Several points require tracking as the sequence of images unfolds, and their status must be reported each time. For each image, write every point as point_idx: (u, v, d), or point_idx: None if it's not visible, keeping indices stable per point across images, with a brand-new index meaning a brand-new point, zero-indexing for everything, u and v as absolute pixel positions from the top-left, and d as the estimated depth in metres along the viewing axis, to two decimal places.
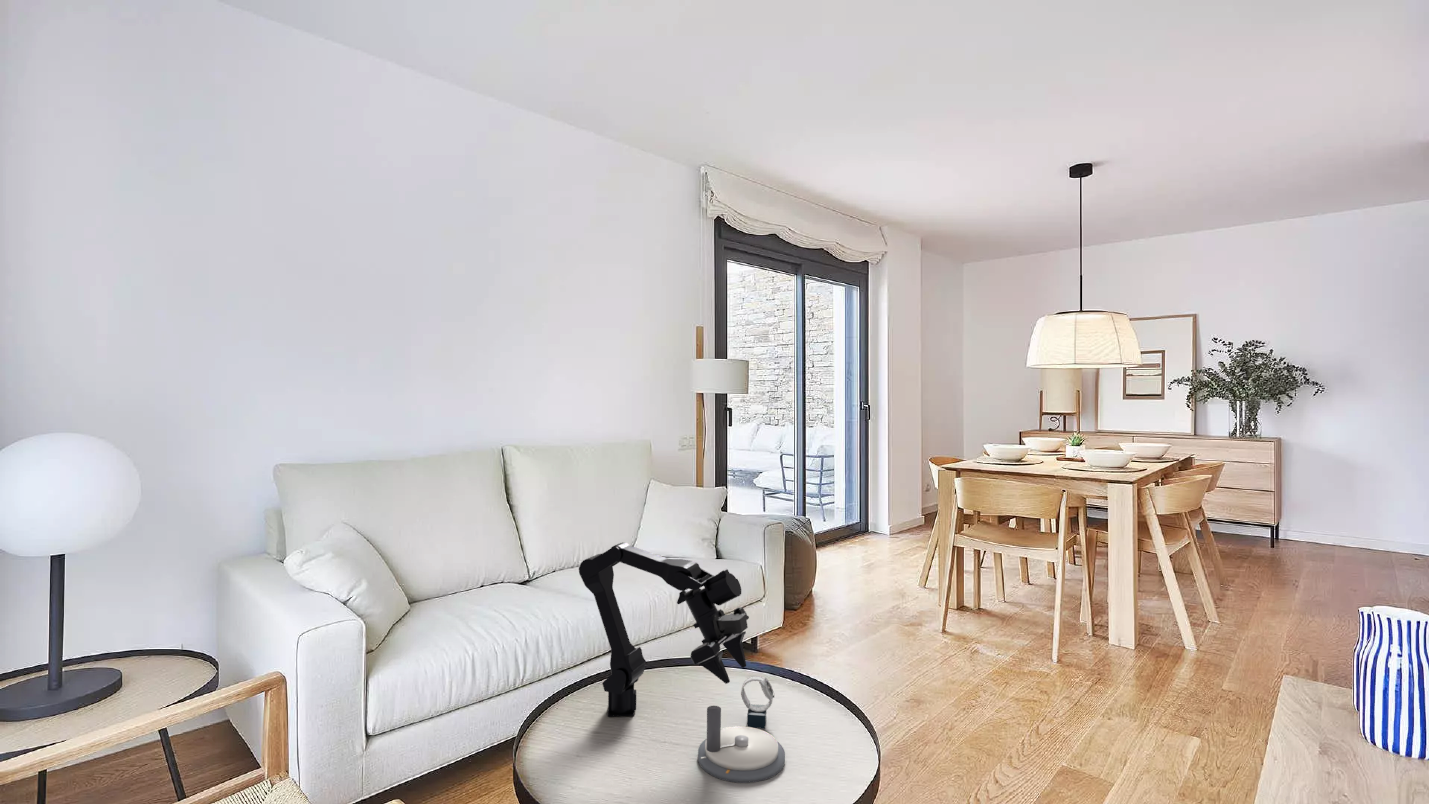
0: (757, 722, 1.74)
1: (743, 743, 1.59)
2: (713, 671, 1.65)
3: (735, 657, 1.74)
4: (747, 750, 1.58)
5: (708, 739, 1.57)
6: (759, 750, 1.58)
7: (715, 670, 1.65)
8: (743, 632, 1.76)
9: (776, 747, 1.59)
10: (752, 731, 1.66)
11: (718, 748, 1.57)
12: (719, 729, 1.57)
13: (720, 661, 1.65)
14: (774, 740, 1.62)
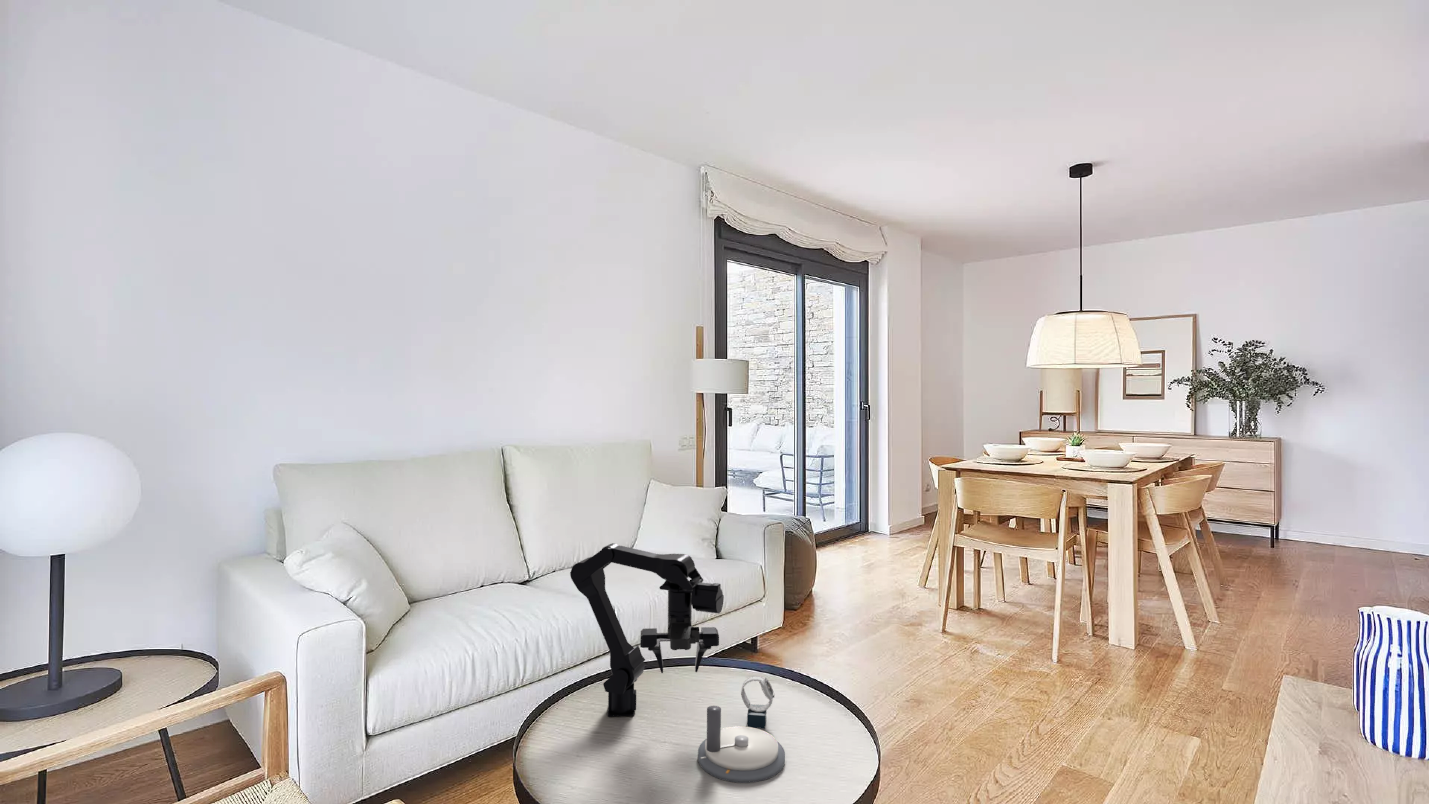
0: (757, 722, 1.74)
1: (743, 743, 1.59)
2: None
3: None
4: (747, 750, 1.58)
5: (708, 739, 1.57)
6: (759, 750, 1.58)
7: None
8: (707, 647, 1.75)
9: (776, 747, 1.59)
10: (752, 731, 1.66)
11: (718, 748, 1.57)
12: (719, 729, 1.57)
13: (657, 654, 1.75)
14: (774, 740, 1.62)
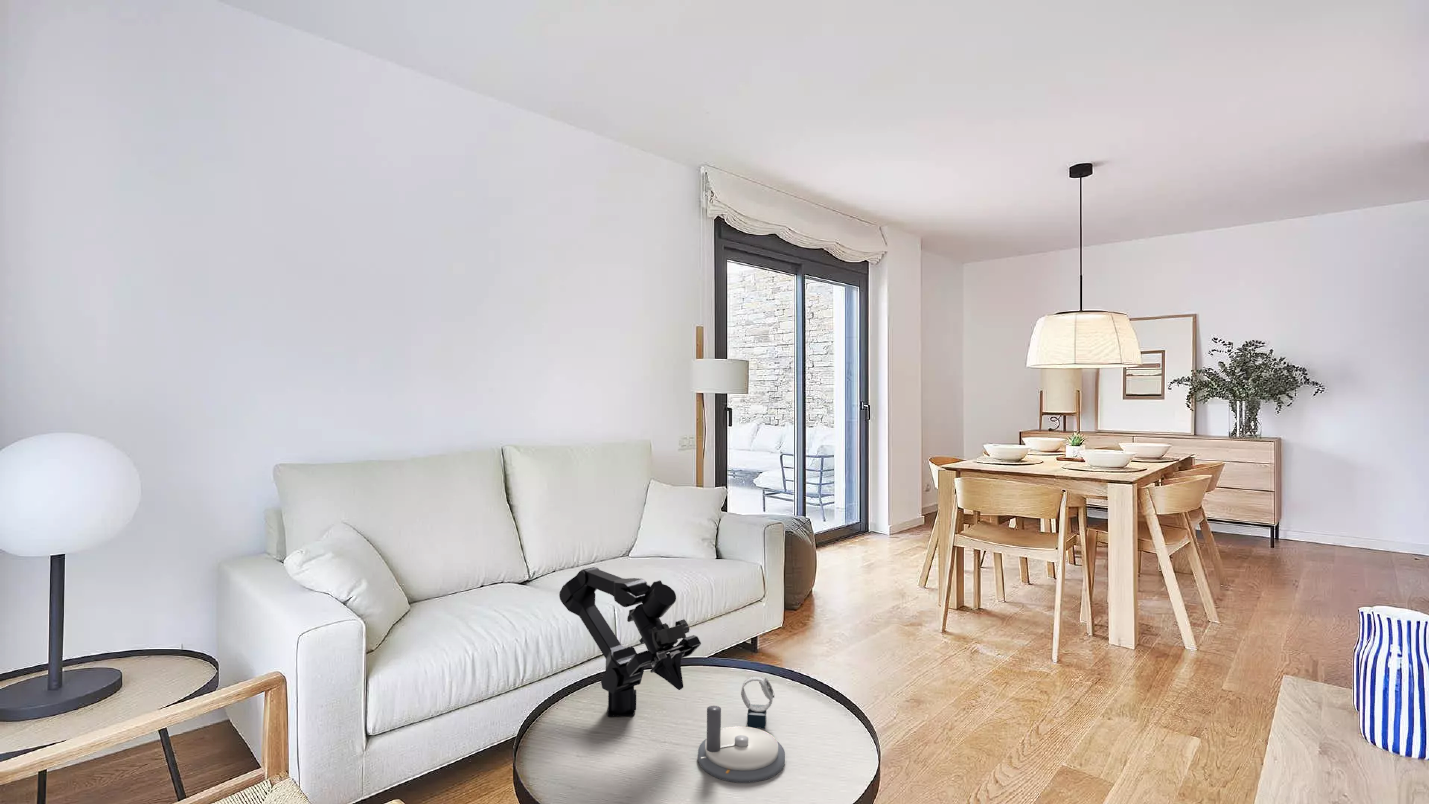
0: (757, 722, 1.74)
1: (743, 743, 1.59)
2: (666, 678, 1.67)
3: None
4: (747, 750, 1.58)
5: (708, 739, 1.57)
6: (759, 750, 1.58)
7: (667, 676, 1.67)
8: None
9: (776, 747, 1.59)
10: (752, 731, 1.66)
11: (718, 748, 1.57)
12: (719, 729, 1.57)
13: (669, 666, 1.66)
14: (774, 740, 1.62)
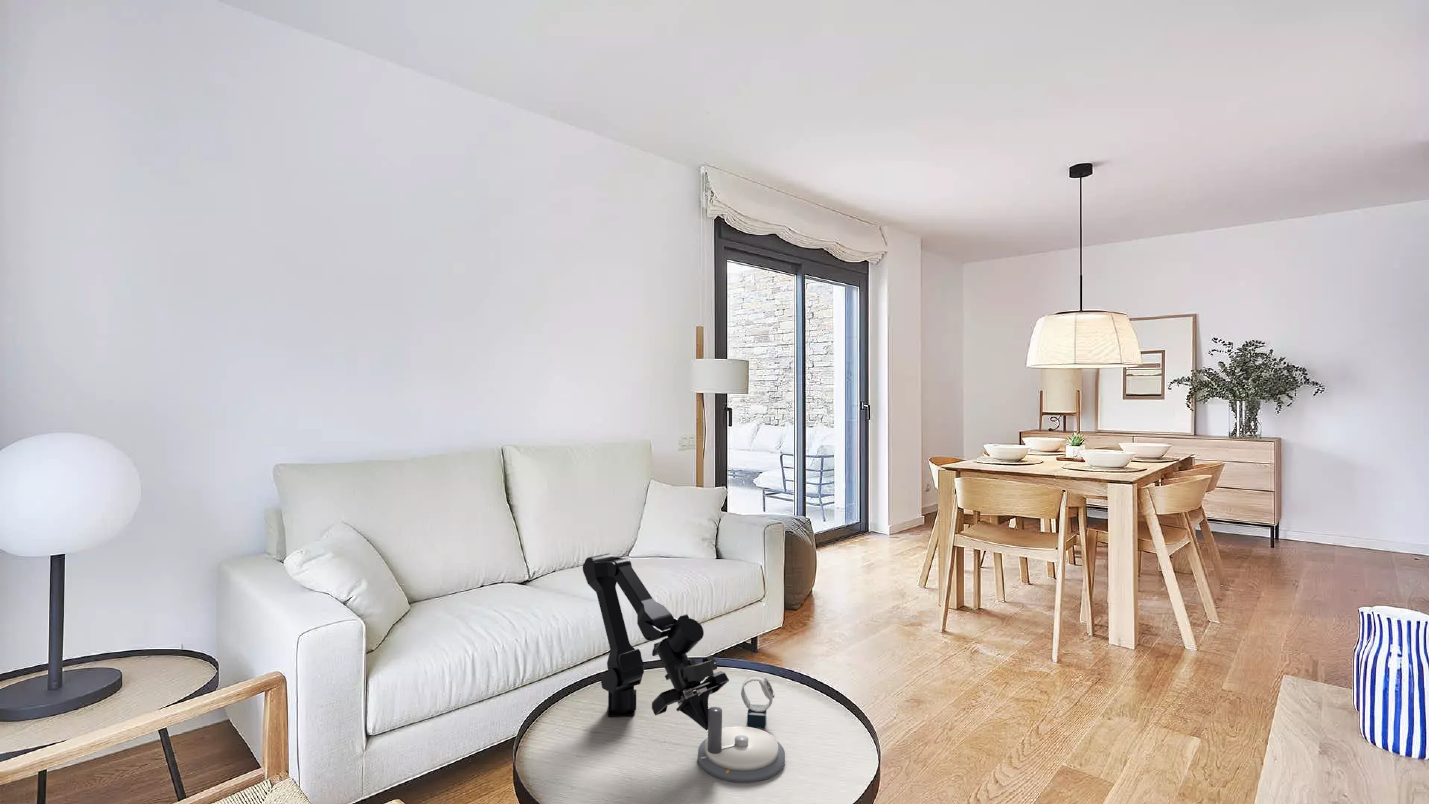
0: (757, 722, 1.74)
1: (744, 743, 1.59)
2: (692, 717, 1.60)
3: None
4: (748, 749, 1.58)
5: (710, 741, 1.57)
6: (760, 749, 1.58)
7: (694, 716, 1.60)
8: (708, 690, 1.63)
9: (776, 745, 1.60)
10: (749, 730, 1.66)
11: (720, 749, 1.57)
12: (721, 730, 1.57)
13: (696, 705, 1.59)
14: (773, 738, 1.63)
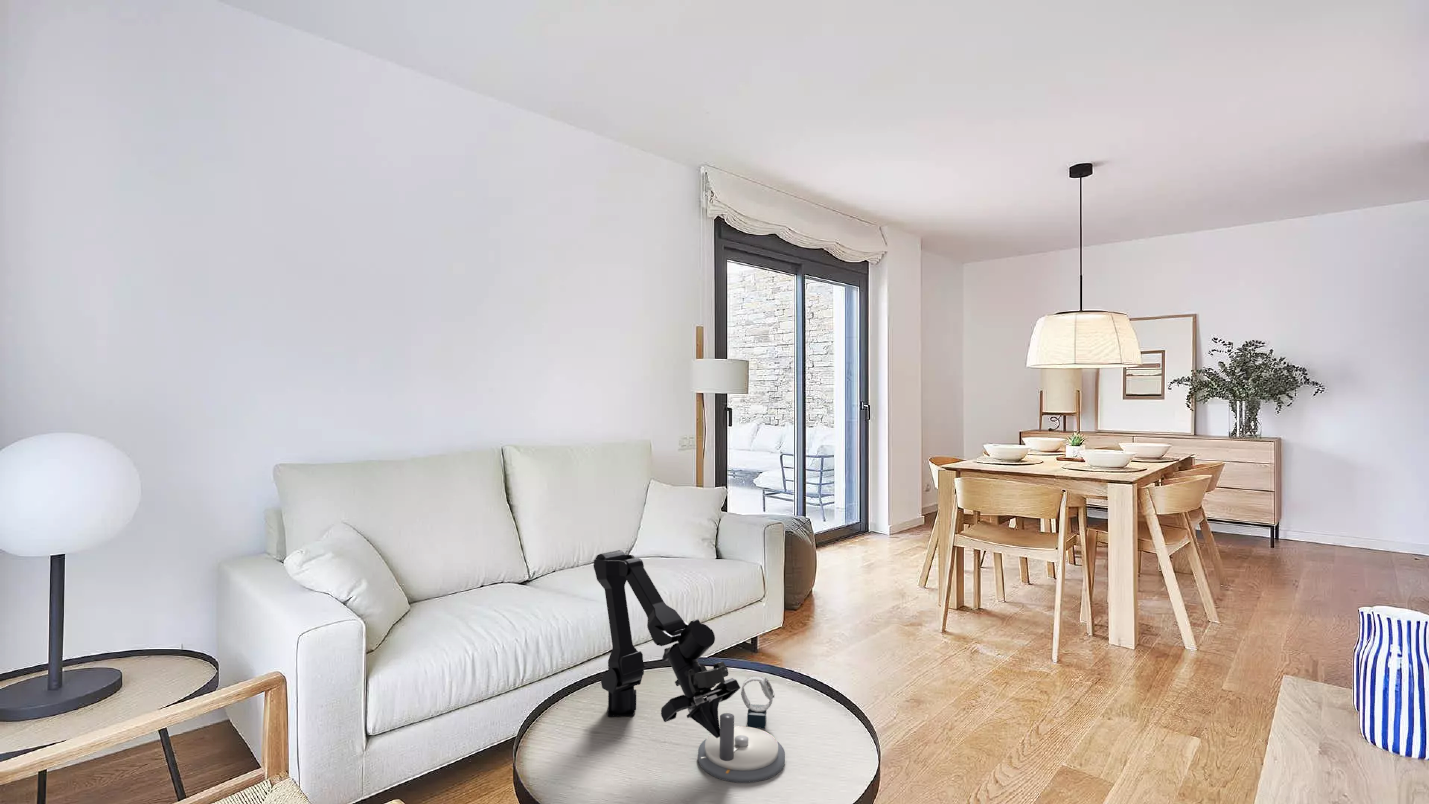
0: (757, 722, 1.74)
1: (747, 742, 1.60)
2: (703, 724, 1.57)
3: None
4: (753, 747, 1.59)
5: (725, 749, 1.53)
6: (762, 743, 1.61)
7: (704, 723, 1.57)
8: None
9: (770, 735, 1.64)
10: (733, 730, 1.67)
11: (733, 754, 1.55)
12: None
13: (707, 712, 1.56)
14: (760, 730, 1.66)
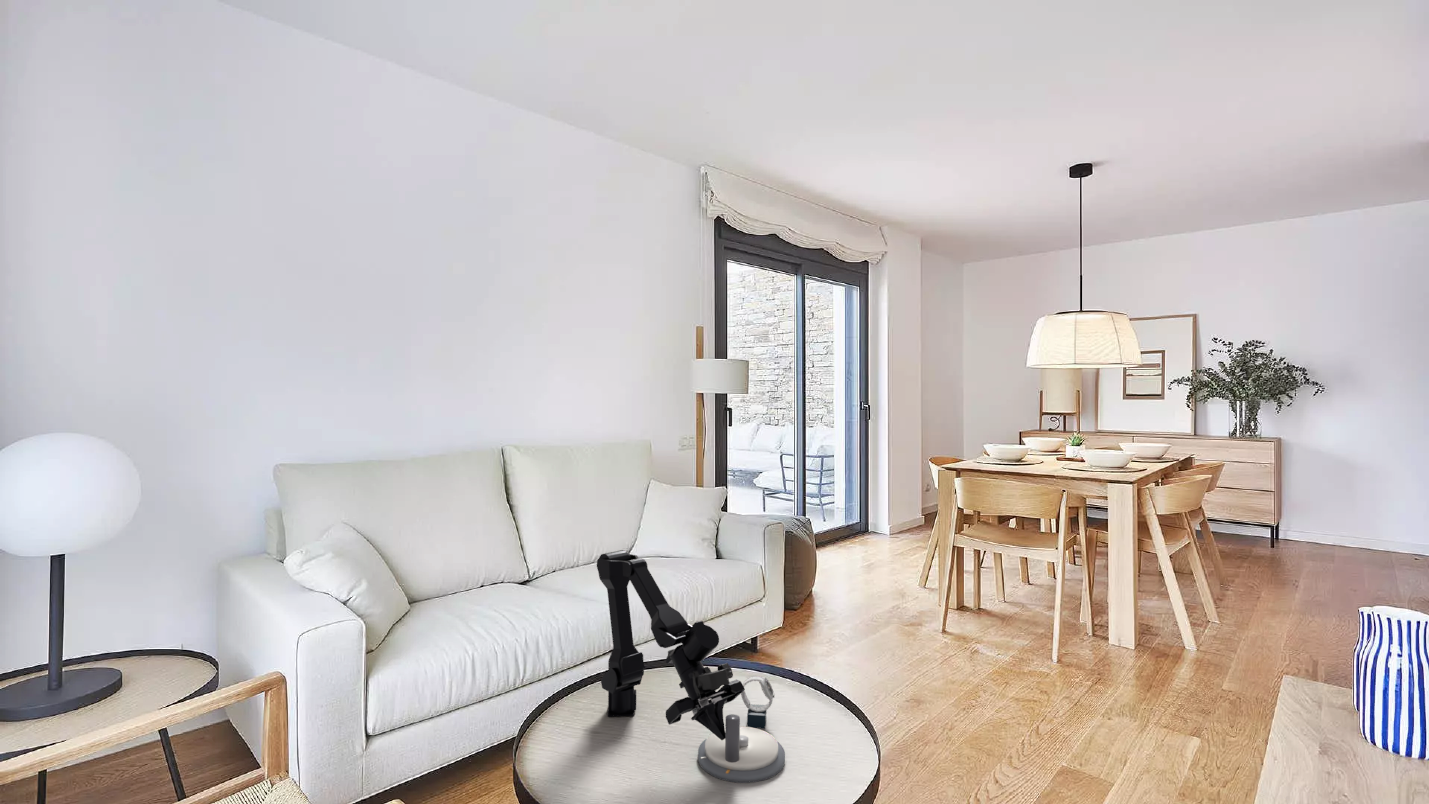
0: (757, 722, 1.74)
1: (747, 741, 1.60)
2: (708, 726, 1.56)
3: None
4: (754, 745, 1.60)
5: (732, 750, 1.53)
6: (761, 741, 1.62)
7: (709, 725, 1.56)
8: (723, 699, 1.58)
9: (766, 732, 1.66)
10: None
11: (739, 755, 1.55)
12: None
13: (712, 714, 1.55)
14: (754, 729, 1.67)
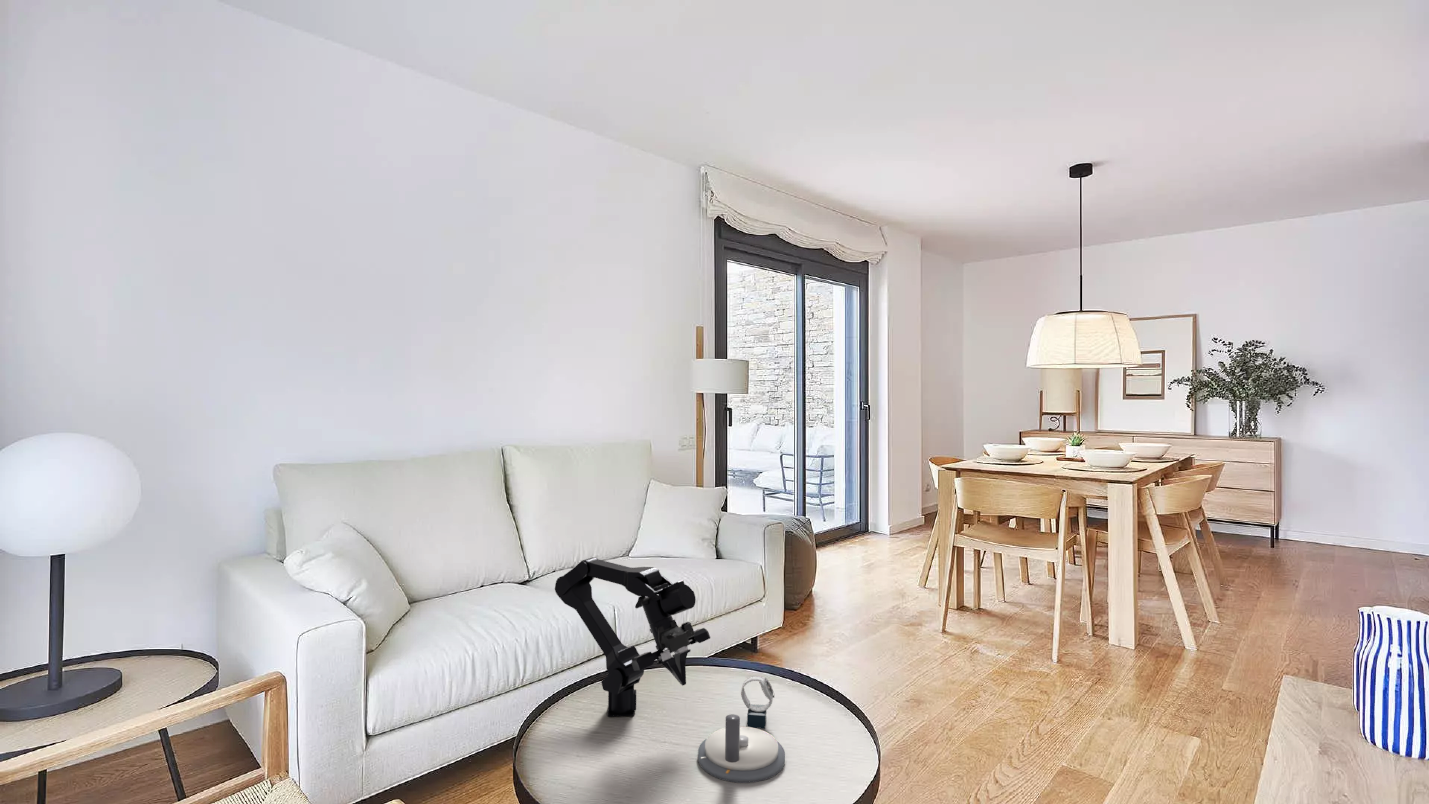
0: (757, 722, 1.74)
1: (747, 741, 1.60)
2: (671, 671, 1.72)
3: None
4: (754, 745, 1.60)
5: (732, 750, 1.53)
6: (761, 741, 1.62)
7: (672, 671, 1.72)
8: (687, 650, 1.72)
9: (766, 732, 1.66)
10: None
11: (739, 755, 1.55)
12: None
13: (673, 665, 1.70)
14: (754, 729, 1.67)
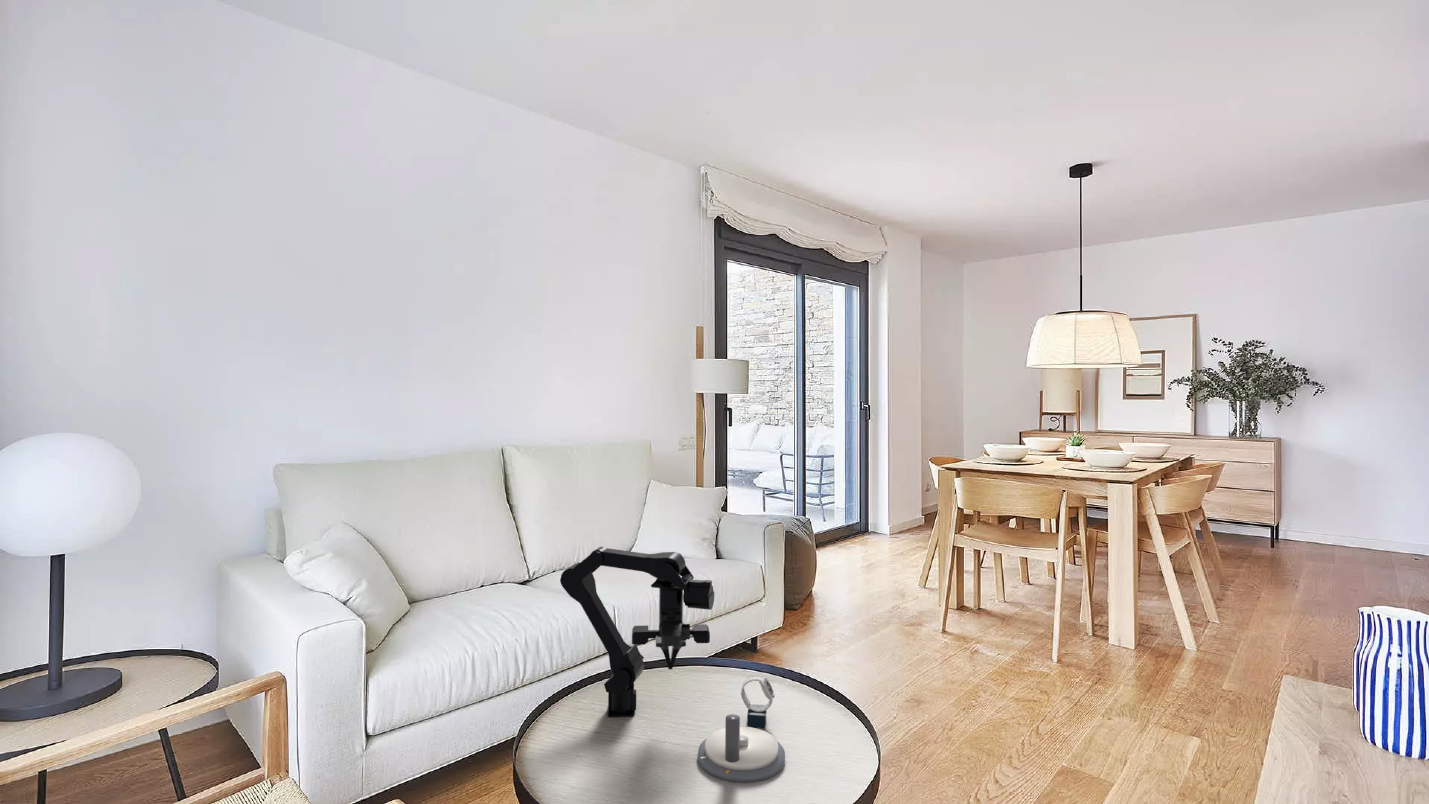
0: (757, 722, 1.74)
1: (747, 741, 1.60)
2: None
3: (671, 655, 1.80)
4: (754, 745, 1.60)
5: (732, 750, 1.53)
6: (761, 741, 1.62)
7: None
8: (682, 644, 1.76)
9: (766, 732, 1.66)
10: None
11: (739, 755, 1.55)
12: None
13: (665, 650, 1.77)
14: (754, 729, 1.67)
